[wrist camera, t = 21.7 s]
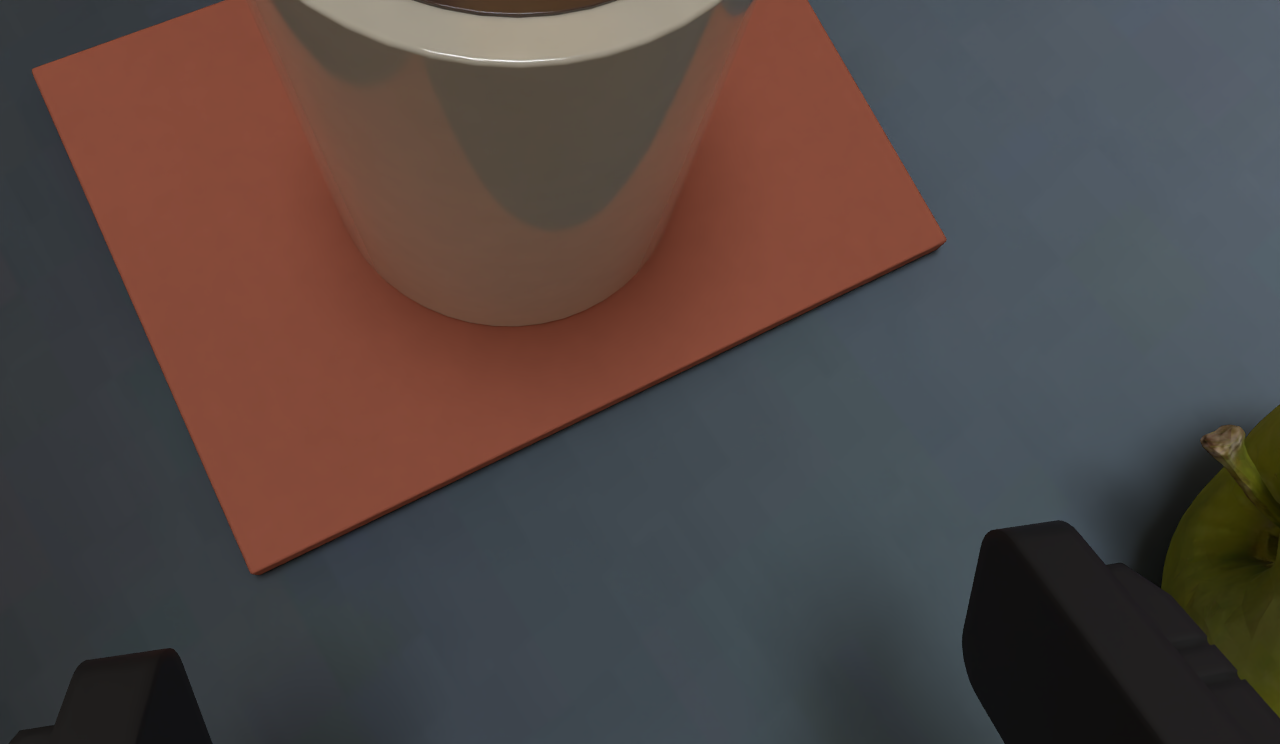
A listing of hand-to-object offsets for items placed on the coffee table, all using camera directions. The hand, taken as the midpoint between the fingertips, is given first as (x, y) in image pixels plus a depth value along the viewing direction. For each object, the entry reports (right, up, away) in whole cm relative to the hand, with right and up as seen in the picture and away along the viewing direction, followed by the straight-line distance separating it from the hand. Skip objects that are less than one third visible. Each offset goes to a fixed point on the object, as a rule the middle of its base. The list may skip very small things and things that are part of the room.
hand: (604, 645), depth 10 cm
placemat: (-2, +7, +9) cm, 12 cm away
